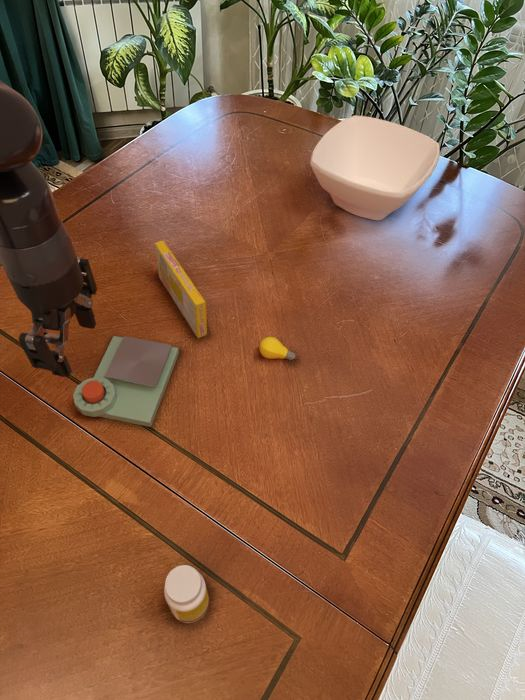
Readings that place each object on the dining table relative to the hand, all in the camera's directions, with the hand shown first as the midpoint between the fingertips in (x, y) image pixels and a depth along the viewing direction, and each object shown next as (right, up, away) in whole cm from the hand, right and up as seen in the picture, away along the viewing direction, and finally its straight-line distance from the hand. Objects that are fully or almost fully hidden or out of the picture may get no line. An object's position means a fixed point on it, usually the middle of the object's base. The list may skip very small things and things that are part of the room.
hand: (76, 349), depth 75 cm
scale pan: (+6, -2, +12) cm, 14 cm away
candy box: (+11, +8, +24) cm, 27 cm away
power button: (0, -7, +9) cm, 11 cm away
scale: (+4, -5, +14) cm, 15 cm away
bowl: (+46, +30, +41) cm, 68 cm away
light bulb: (+27, -1, +17) cm, 32 cm away
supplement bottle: (+16, -31, -5) cm, 35 cm away
